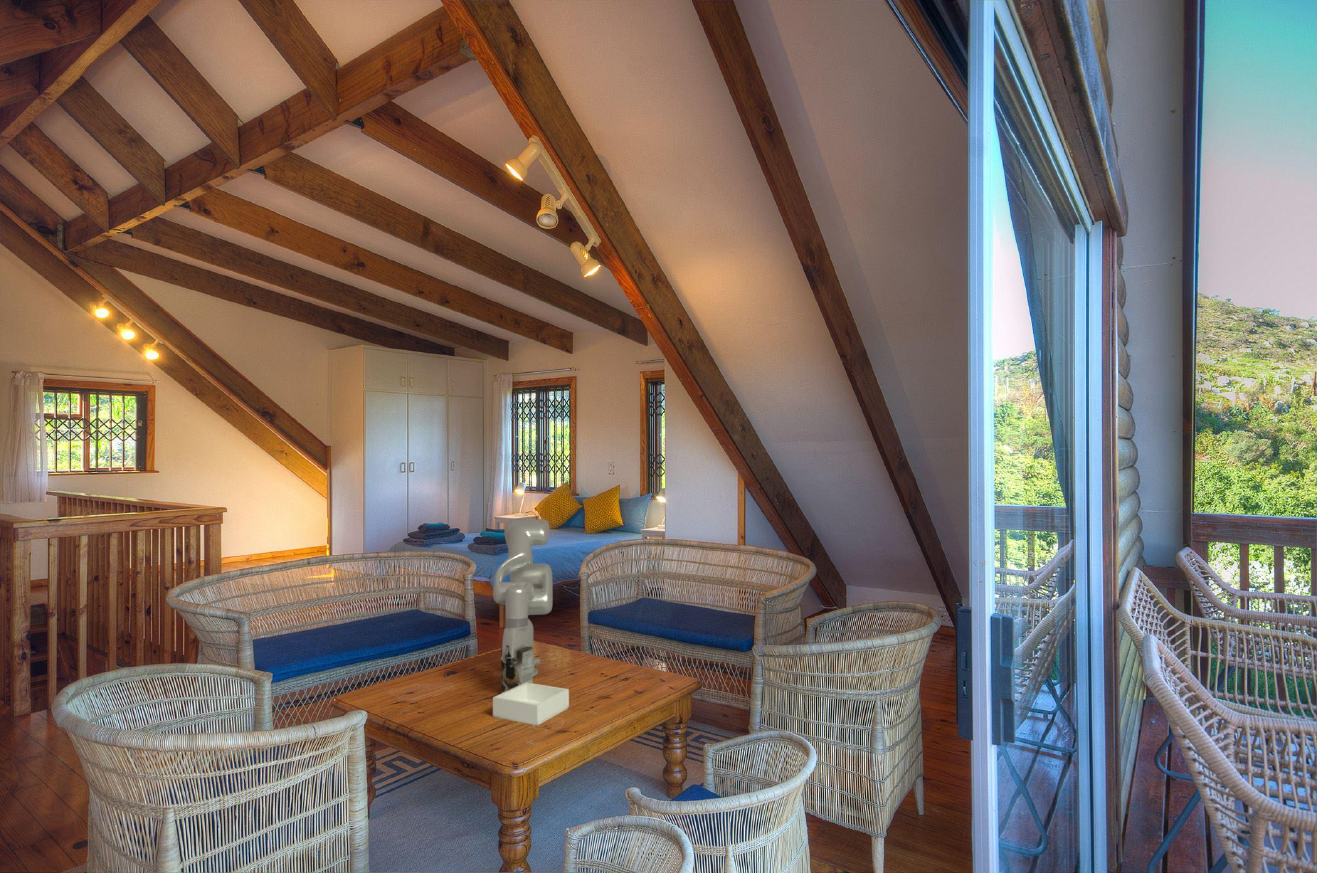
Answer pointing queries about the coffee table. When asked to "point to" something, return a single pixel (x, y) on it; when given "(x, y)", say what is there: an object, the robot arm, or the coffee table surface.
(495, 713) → the bin
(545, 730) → the coffee table surface
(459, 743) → the coffee table surface
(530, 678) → the coffee box
